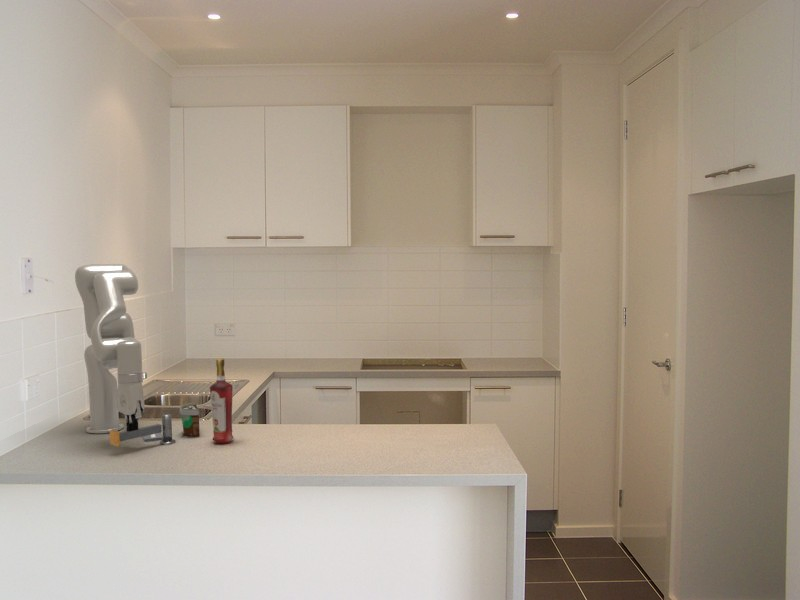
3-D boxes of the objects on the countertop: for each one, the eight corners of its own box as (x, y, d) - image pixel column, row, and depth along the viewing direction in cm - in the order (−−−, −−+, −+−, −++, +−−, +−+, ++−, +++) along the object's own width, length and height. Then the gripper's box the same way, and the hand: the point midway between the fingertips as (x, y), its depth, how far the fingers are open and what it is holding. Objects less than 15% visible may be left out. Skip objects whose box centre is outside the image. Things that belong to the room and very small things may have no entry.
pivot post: (159, 441, 235) (158, 414, 234) (174, 440, 237) (173, 412, 236) (160, 445, 230) (159, 417, 230) (176, 443, 232) (175, 415, 232)
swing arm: (157, 433, 233) (156, 420, 233) (163, 435, 230) (163, 422, 230) (110, 443, 221) (109, 430, 221) (116, 446, 218) (116, 432, 218)
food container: (179, 431, 249) (178, 403, 248) (197, 429, 251) (196, 402, 250) (181, 439, 237) (180, 410, 237) (200, 437, 239) (198, 409, 239)
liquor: (207, 443, 232) (203, 360, 230) (222, 438, 238) (219, 357, 236) (224, 446, 228) (220, 361, 226) (239, 440, 235) (236, 358, 233)
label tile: (143, 436, 243) (142, 433, 243) (161, 434, 245) (161, 431, 245) (144, 441, 235) (144, 438, 235) (163, 439, 238) (163, 436, 238)
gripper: (108, 377, 228) (111, 432, 230) (130, 382, 218) (132, 440, 220) (130, 374, 234) (132, 428, 235) (152, 379, 224) (154, 435, 225)
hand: (132, 433), depth 227 cm, fingers closed
